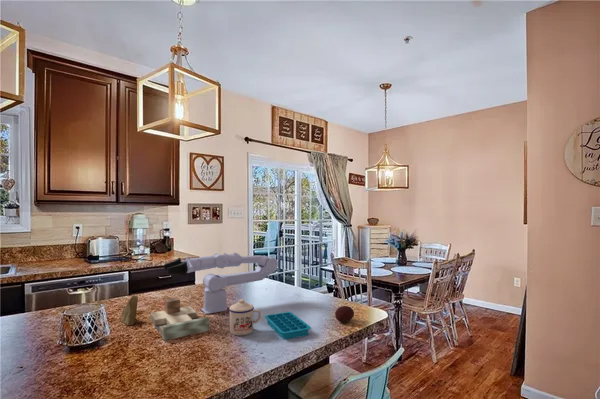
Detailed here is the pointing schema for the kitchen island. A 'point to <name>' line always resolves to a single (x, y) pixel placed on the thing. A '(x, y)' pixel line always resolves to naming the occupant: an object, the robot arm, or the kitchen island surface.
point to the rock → (130, 311)
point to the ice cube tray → (287, 325)
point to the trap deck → (179, 323)
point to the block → (172, 305)
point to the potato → (344, 313)
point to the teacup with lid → (242, 318)
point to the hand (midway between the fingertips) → (165, 268)
